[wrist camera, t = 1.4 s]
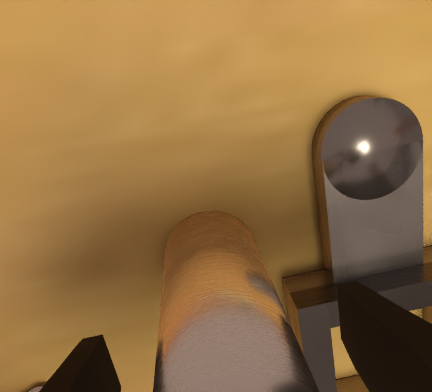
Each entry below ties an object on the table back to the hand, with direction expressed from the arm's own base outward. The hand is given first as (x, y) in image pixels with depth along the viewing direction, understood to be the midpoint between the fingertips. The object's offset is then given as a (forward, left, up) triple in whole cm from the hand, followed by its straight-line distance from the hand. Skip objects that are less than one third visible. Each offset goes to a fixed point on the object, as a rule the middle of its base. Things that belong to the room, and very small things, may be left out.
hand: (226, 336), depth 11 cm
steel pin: (0, 0, -6) cm, 6 cm away
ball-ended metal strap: (+4, -8, -6) cm, 11 cm away
